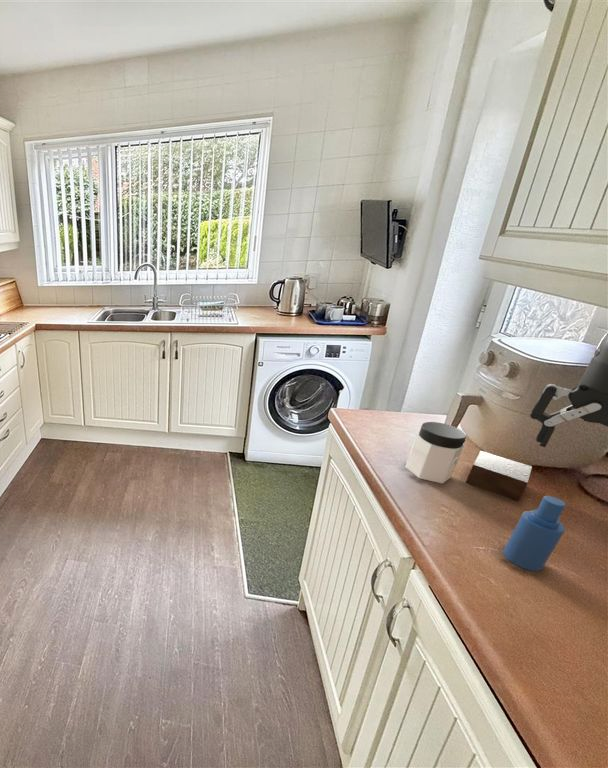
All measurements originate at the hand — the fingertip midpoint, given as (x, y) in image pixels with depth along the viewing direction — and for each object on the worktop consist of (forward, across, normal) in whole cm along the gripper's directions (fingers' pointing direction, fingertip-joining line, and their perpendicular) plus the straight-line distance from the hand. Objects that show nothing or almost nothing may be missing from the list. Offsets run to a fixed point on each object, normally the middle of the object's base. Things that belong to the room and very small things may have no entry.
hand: (580, 455), depth 65 cm
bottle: (+23, 0, 0) cm, 23 cm away
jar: (+23, +18, -19) cm, 35 cm away
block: (+23, +7, -26) cm, 35 cm away
